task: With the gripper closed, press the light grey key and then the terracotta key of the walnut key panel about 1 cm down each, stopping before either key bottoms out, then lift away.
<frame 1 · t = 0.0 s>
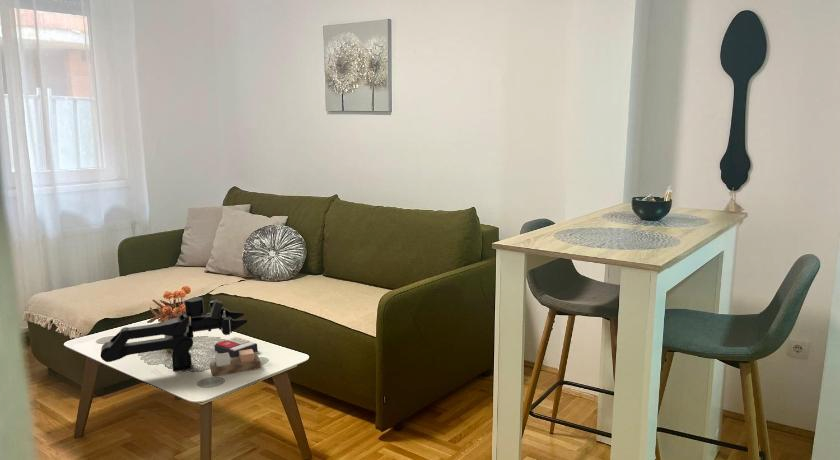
hand: (245, 317, 250), 17 cm above the table, tool horizontal, fingers open, 9 cm apart
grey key: (222, 360, 239), point 4 cm above the table, slide at 0.0 cm
key panel: (235, 368, 241), on the table
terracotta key: (246, 356, 242), point 4 cm above the table, slide at 0.0 cm
calculator: (236, 352, 259), on the table
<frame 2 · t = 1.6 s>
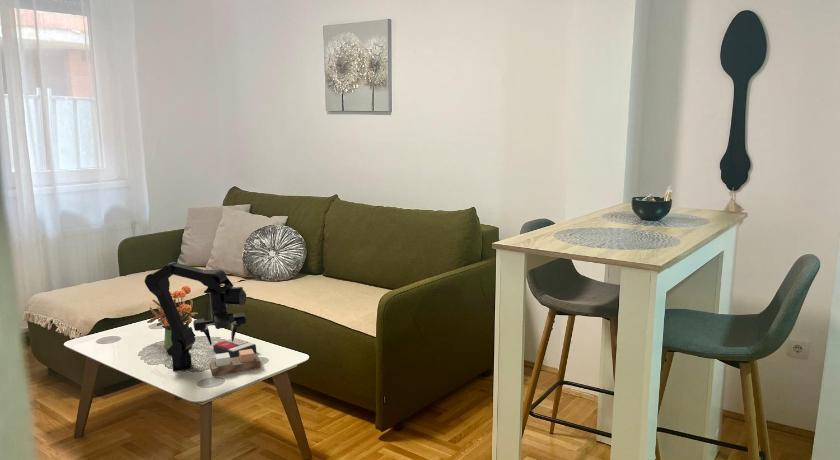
hand: (221, 343, 237), 11 cm above the table, tool pointing down, fingers open, 8 cm apart
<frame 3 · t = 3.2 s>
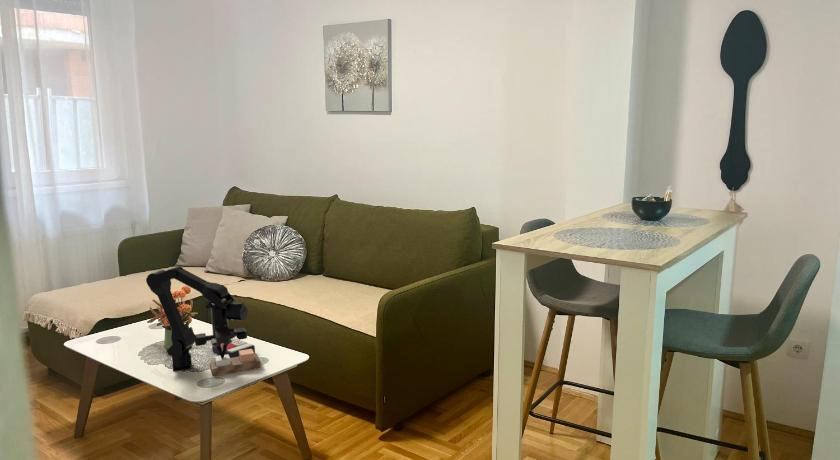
hand: (222, 357, 238), 5 cm above the table, tool pointing down, fingers closed, pressing on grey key
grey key: (222, 362, 239), point 3 cm above the table, slide at 0.8 cm, touching gripper
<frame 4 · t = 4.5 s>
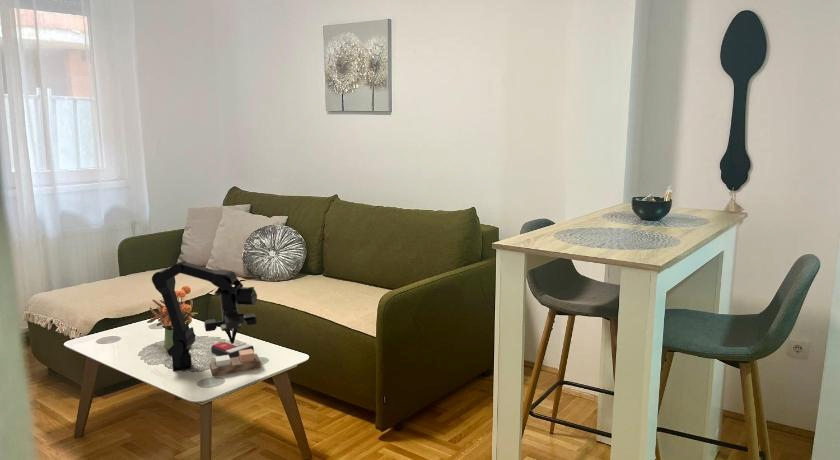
hand: (232, 343, 239), 10 cm above the table, tool pointing down, fingers closed
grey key: (222, 363, 239), point 3 cm above the table, slide at 1.0 cm
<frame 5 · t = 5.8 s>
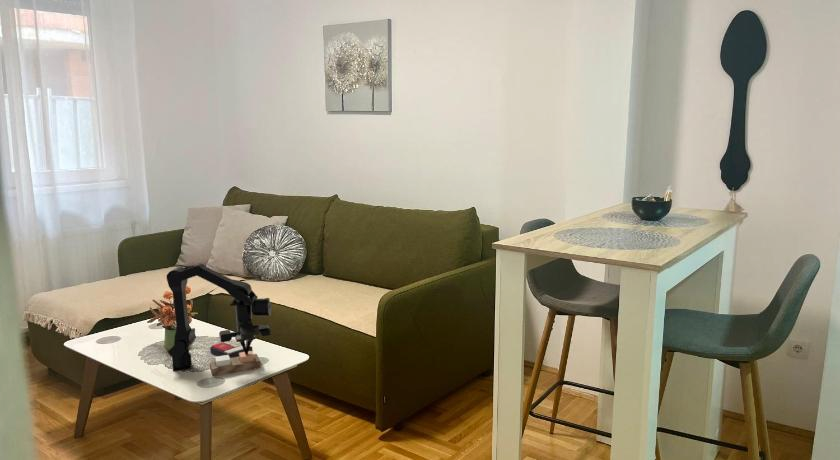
hand: (246, 354, 242), 5 cm above the table, tool pointing down, fingers closed, pressing on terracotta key
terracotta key: (246, 358, 242), point 3 cm above the table, slide at 0.9 cm, touching gripper
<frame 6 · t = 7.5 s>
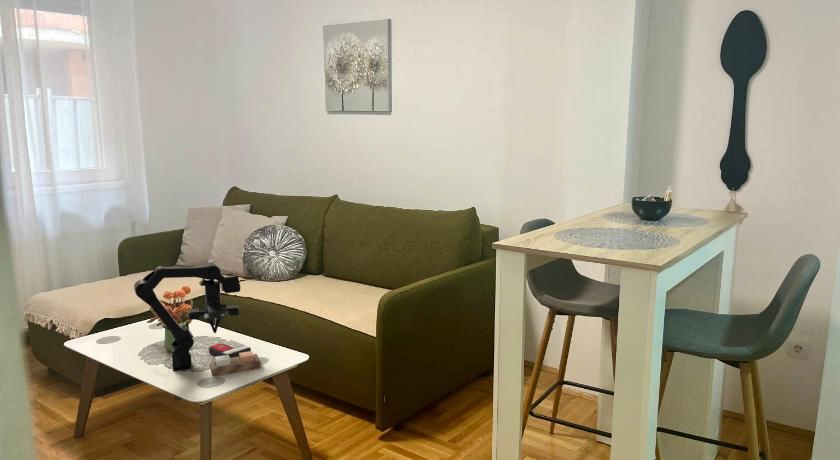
hand: (214, 332, 247), 12 cm above the table, tool pointing down, fingers closed
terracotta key: (246, 359, 242), point 3 cm above the table, slide at 1.0 cm
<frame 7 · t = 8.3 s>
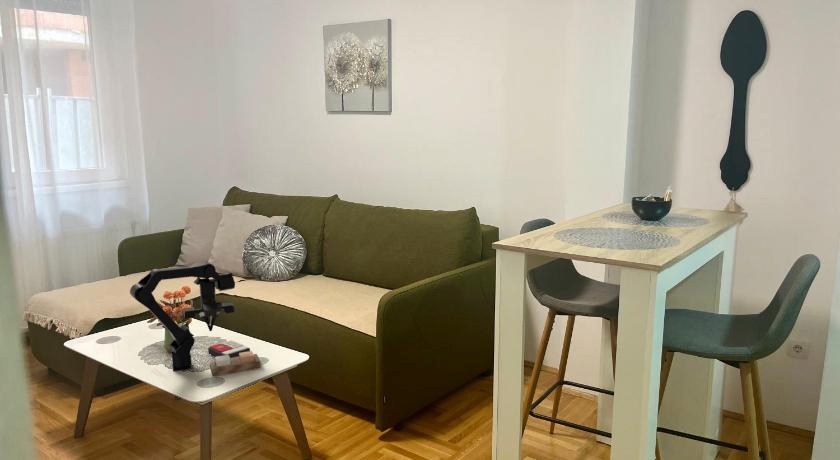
hand: (210, 330, 248), 12 cm above the table, tool pointing down, fingers closed
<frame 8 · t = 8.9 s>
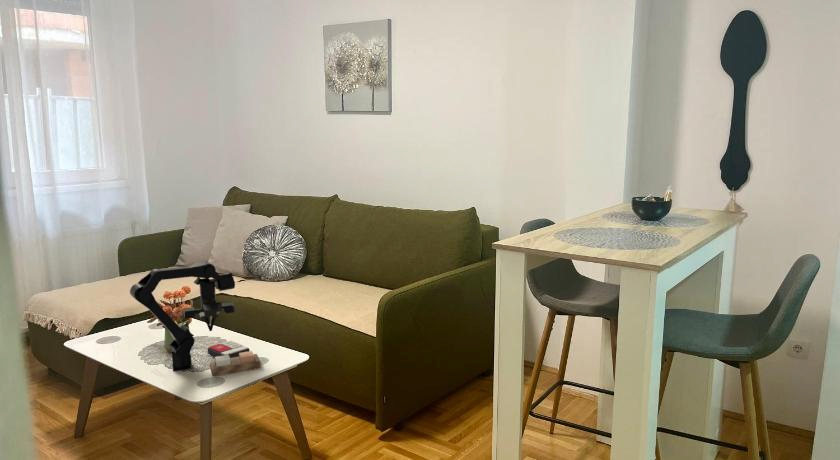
hand: (210, 330, 248), 12 cm above the table, tool pointing down, fingers closed
at the end: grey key slide at 1.0 cm; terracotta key slide at 1.0 cm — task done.
